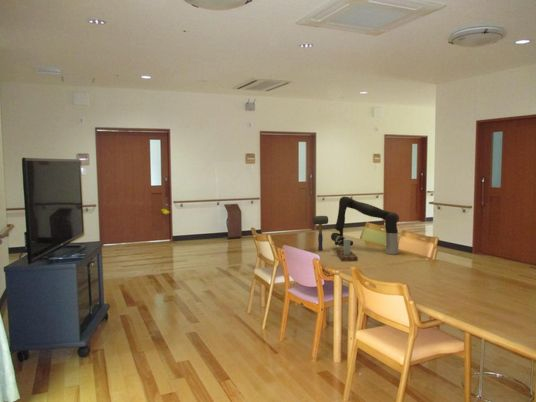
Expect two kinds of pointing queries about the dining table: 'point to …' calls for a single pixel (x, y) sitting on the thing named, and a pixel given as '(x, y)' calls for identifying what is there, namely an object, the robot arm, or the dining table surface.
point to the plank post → (346, 246)
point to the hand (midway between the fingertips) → (345, 244)
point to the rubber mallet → (320, 228)
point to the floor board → (347, 256)
